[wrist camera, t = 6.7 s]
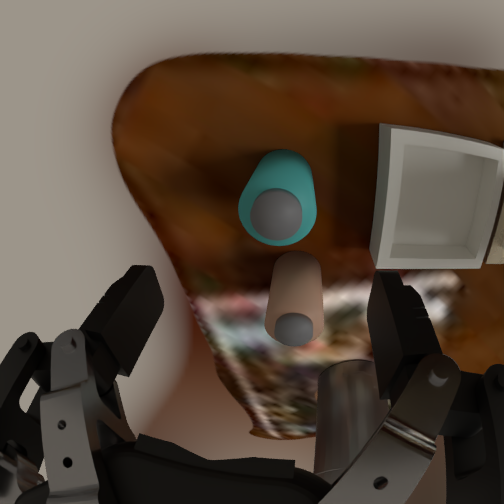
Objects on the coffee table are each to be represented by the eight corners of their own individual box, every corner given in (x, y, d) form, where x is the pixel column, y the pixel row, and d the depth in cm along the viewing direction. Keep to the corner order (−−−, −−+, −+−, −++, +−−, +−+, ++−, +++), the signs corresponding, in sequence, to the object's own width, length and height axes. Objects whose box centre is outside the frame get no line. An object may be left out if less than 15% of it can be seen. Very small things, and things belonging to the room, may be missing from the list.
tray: (466, 251, 22) (479, 268, 19) (369, 249, 24) (375, 268, 21) (488, 142, 16) (507, 150, 13) (379, 123, 18) (391, 128, 15)
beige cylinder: (319, 290, 27) (321, 353, 20) (274, 288, 28) (264, 351, 21) (321, 251, 25) (327, 312, 18) (272, 250, 25) (261, 310, 19)
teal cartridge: (311, 202, 22) (316, 253, 16) (257, 202, 23) (239, 252, 17) (311, 149, 20) (317, 178, 14) (253, 150, 21) (231, 179, 14)
